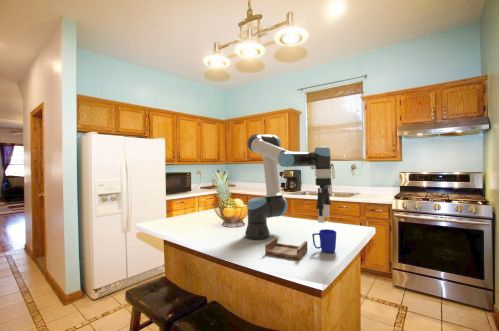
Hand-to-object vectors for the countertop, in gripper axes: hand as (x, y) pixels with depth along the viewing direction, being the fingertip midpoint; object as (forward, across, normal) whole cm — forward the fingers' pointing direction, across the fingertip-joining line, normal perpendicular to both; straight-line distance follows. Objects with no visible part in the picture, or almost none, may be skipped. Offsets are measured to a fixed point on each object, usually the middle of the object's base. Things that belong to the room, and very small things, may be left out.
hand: (324, 219), depth 126 cm
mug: (+16, 0, 0) cm, 16 cm away
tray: (+16, -10, +17) cm, 25 cm away
